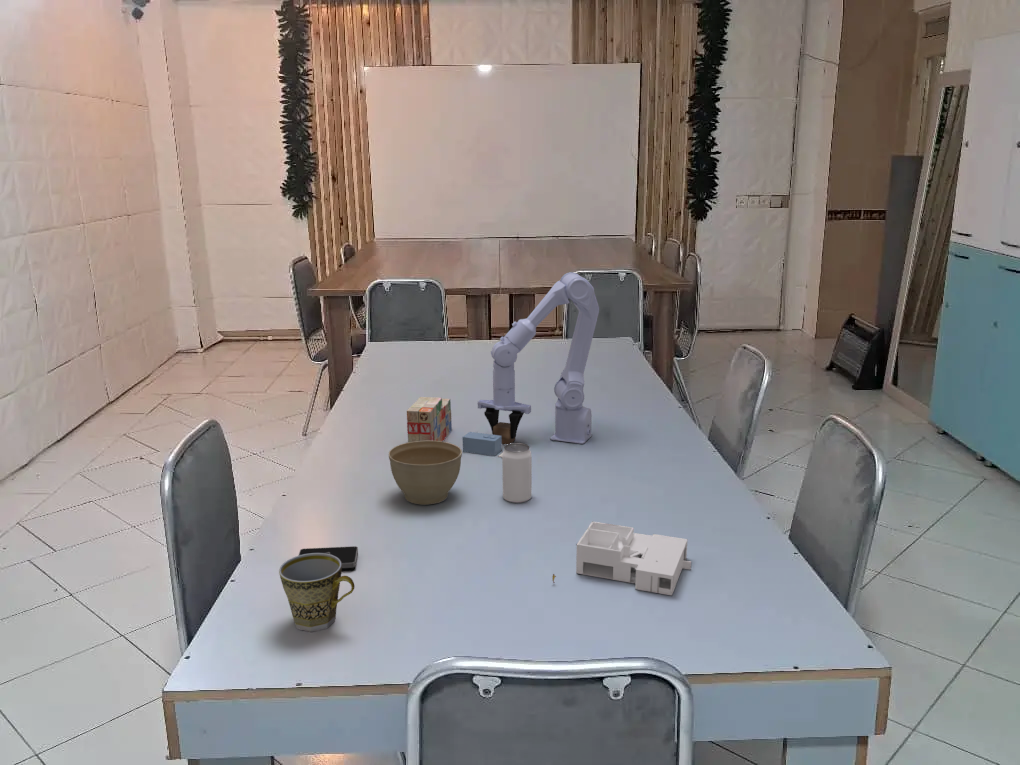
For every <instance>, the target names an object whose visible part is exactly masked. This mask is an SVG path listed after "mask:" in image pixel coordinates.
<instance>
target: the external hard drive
mask: <svg viewBox="0 0 1020 765" xmlns="http://www.w3.org/2000/svg"><path fill="white" fill-rule="evenodd" d="M309 553H326V554H331V555H333V556H336V557H337V558H339V559H340V560H341V562H342V572H352V571H355V570H356V569H357V568H356V567H357V563H358V557H359V547H358V546H356V545H355V546H353V545H352V546H335V547H334V546H333V547H332V546H330V547H313V548H311V547H308V548H307V547H306V548H302V549H300V550H299V553H298V555H297V556H299V555H303V554H309Z"/></svg>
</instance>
